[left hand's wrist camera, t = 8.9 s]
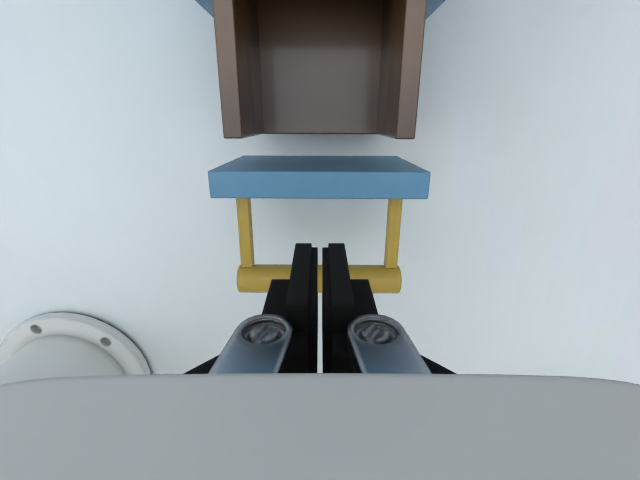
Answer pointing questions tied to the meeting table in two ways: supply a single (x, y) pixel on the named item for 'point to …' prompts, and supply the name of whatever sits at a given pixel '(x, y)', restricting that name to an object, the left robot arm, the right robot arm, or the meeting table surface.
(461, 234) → the meeting table surface
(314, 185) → the drawer
